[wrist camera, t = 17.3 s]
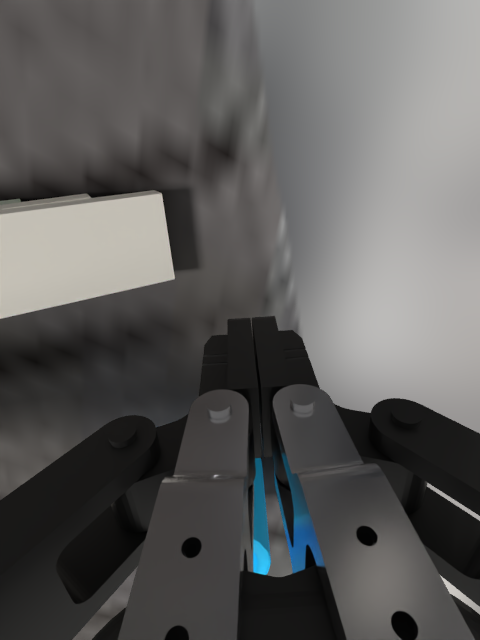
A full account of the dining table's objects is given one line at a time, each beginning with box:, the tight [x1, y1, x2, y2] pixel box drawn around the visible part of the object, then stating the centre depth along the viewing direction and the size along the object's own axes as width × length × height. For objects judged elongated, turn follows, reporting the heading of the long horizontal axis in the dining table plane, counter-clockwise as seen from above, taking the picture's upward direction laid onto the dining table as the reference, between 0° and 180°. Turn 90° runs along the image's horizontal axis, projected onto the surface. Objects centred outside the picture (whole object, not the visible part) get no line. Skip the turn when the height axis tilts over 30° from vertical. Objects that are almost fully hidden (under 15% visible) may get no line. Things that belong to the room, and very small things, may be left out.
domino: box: [0, 190, 175, 319], centre depth 19 cm, size 2×5×10 cm
